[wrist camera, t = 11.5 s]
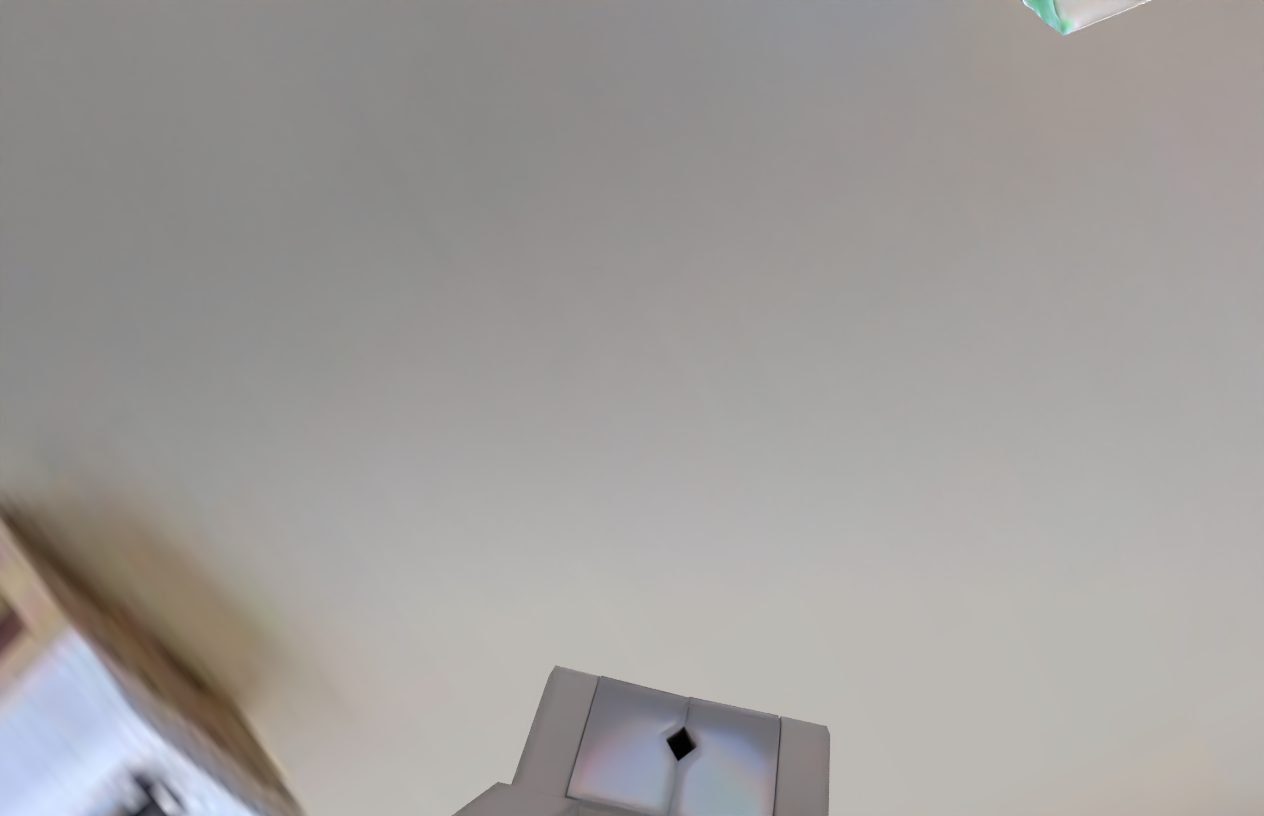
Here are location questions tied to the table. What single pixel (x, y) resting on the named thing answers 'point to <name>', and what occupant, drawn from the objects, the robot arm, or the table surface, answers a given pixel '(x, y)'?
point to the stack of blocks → (1078, 11)
